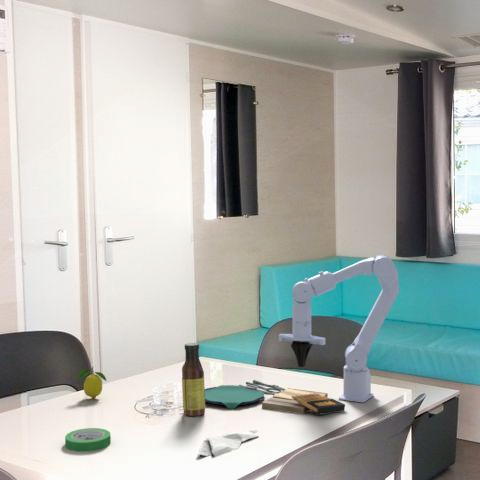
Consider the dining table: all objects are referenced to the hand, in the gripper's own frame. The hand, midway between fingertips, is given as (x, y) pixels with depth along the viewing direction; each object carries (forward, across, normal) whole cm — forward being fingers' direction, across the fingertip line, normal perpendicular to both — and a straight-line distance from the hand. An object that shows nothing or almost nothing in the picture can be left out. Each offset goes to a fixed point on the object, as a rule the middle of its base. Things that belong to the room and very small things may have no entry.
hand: (301, 366), depth 236 cm
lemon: (+10, -55, -31) cm, 64 cm away
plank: (+9, +1, -3) cm, 10 cm away
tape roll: (+10, -30, -64) cm, 71 cm away
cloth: (+10, 0, -48) cm, 49 cm away
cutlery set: (+10, -17, -7) cm, 21 cm away
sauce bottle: (+10, -20, -30) cm, 37 cm away
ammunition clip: (+8, +15, -13) cm, 21 cm away
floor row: (+9, +1, -13) cm, 16 cm away
